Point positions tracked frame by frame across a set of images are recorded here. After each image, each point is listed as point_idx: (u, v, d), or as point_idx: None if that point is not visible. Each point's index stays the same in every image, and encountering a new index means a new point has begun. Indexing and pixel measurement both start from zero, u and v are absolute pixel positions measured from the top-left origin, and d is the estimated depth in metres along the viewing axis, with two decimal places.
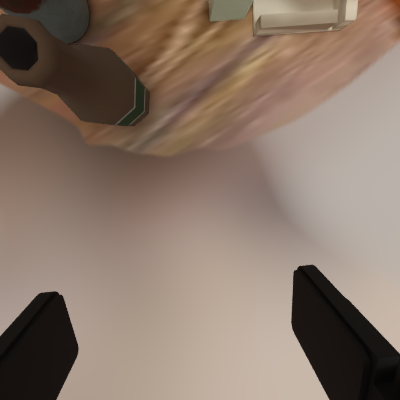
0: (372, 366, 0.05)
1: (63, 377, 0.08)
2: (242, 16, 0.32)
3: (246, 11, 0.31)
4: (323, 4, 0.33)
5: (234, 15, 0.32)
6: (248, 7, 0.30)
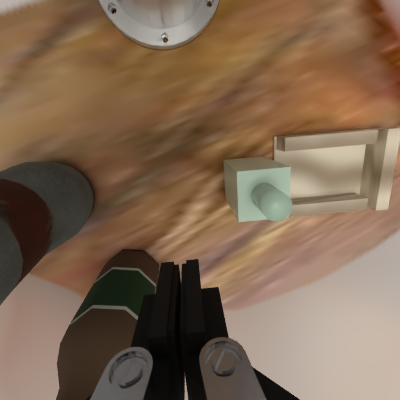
0: (188, 341, 0.07)
1: None
2: None
3: None
4: (350, 180, 0.30)
5: None
6: None
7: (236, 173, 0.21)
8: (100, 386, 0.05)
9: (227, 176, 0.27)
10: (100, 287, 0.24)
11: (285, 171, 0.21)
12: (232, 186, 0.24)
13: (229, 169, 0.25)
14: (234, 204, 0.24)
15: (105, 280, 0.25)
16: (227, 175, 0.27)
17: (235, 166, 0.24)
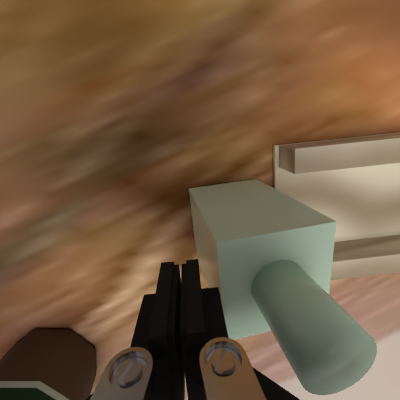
0: (188, 341, 0.07)
1: None
2: None
3: None
4: None
5: None
6: None
7: (215, 244, 0.09)
8: (100, 386, 0.05)
9: (196, 223, 0.14)
10: None
11: (325, 232, 0.09)
12: (207, 254, 0.12)
13: (199, 216, 0.13)
14: None
15: None
16: (196, 221, 0.14)
17: (211, 214, 0.11)
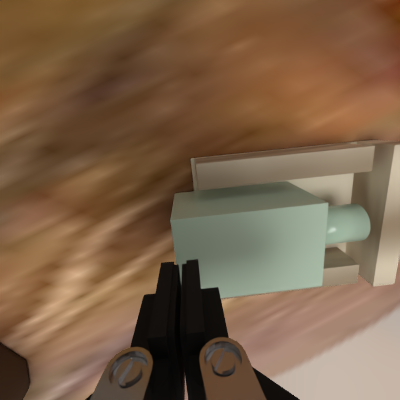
0: (188, 341, 0.07)
1: None
2: None
3: None
4: None
5: None
6: None
7: (322, 207, 0.12)
8: (100, 386, 0.05)
9: (223, 242, 0.12)
10: None
11: None
12: (279, 244, 0.12)
13: (251, 220, 0.12)
14: (292, 270, 0.13)
15: None
16: (224, 240, 0.12)
17: (272, 205, 0.12)
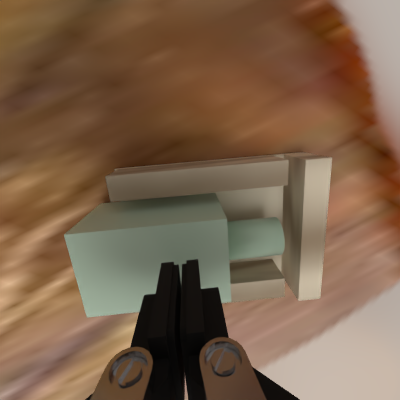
0: (188, 341, 0.07)
1: None
2: None
3: None
4: None
5: None
6: None
7: (221, 223, 0.12)
8: (100, 386, 0.05)
9: (122, 257, 0.12)
10: None
11: None
12: (181, 259, 0.12)
13: (149, 235, 0.12)
14: None
15: None
16: (122, 255, 0.12)
17: (173, 220, 0.12)
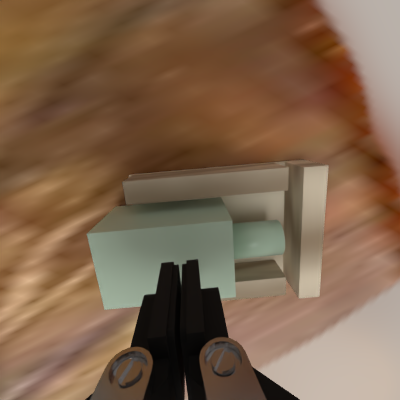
0: (188, 341, 0.07)
1: None
2: None
3: None
4: None
5: None
6: None
7: (227, 224, 0.13)
8: (100, 386, 0.05)
9: (137, 255, 0.13)
10: None
11: None
12: (190, 257, 0.13)
13: (162, 235, 0.13)
14: (206, 282, 0.14)
15: None
16: (138, 253, 0.13)
17: (183, 222, 0.13)
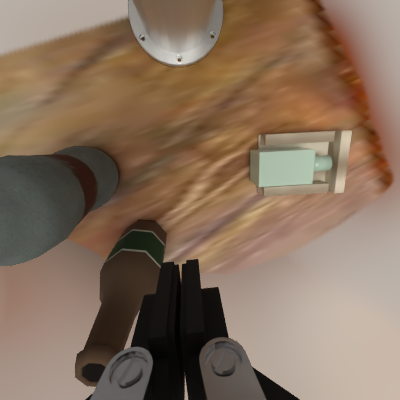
0: (188, 341, 0.07)
1: None
2: None
3: None
4: None
5: None
6: None
7: (313, 150, 0.33)
8: (100, 386, 0.05)
9: (277, 162, 0.33)
10: (125, 240, 0.33)
11: None
12: (297, 164, 0.33)
13: (288, 154, 0.33)
14: (301, 176, 0.34)
15: (128, 236, 0.33)
16: (277, 161, 0.33)
17: (295, 150, 0.33)
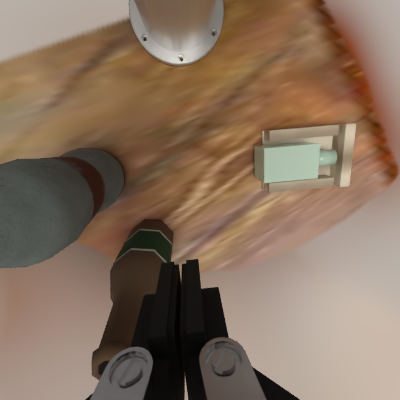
0: (188, 341, 0.07)
1: None
2: None
3: None
4: None
5: None
6: None
7: (318, 145, 0.33)
8: (100, 386, 0.05)
9: (281, 158, 0.33)
10: (133, 240, 0.33)
11: None
12: (302, 159, 0.33)
13: (292, 149, 0.33)
14: (306, 170, 0.34)
15: (136, 236, 0.34)
16: (282, 157, 0.33)
17: (300, 145, 0.33)
